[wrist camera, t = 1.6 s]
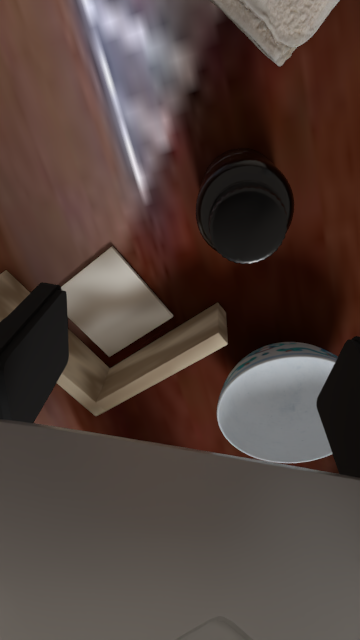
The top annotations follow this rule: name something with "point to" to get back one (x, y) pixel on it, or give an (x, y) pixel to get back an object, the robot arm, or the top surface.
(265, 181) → the supplement bottle
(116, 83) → the top surface
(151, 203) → the top surface
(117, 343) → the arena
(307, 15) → the washcloth
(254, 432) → the chinaware
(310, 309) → the top surface
